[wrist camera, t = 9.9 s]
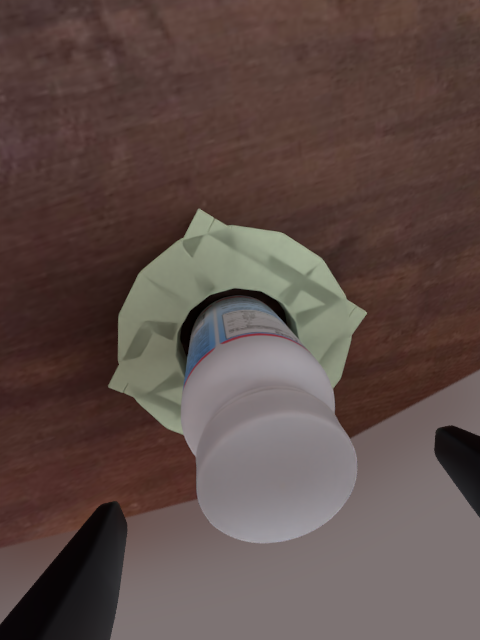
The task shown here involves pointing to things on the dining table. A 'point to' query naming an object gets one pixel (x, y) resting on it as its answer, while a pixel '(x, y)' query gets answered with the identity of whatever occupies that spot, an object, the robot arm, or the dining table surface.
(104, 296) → the dining table surface
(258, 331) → the pill bottle
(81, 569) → the robot arm
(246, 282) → the socket pad
